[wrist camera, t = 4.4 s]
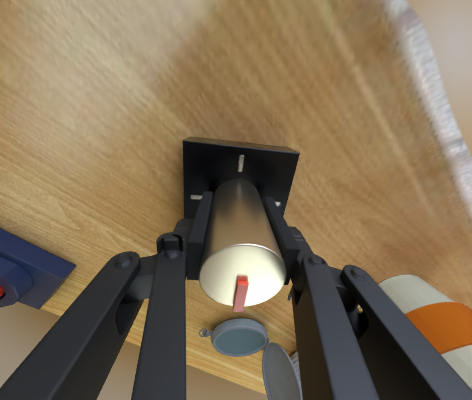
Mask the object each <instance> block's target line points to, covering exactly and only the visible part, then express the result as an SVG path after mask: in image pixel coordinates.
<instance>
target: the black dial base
mask: <svg viewBox="0 0 472 400" xmlns="http://www.w3.org/2000/svg"><path fill="white" fill-rule="evenodd" d="M299 154H300V153H298V152H296V151H294V150H293V149H291V148H288V147H279V146H270V145H261V144H252V143H243V142H234V141H225V140H216V139H207V138H198V137H189V138H187V139H185V140H183V178H184V219H195V216H196V213H197V210H198V207H199V204H200V201H201V198H202V195H203V192H204V191H208V192H213V197H214V194H215V191H216V190H217V188H218V187H219V186H220V185H221V184H222V183H224V182H226V181H228V180H231V179H242V180H246V181H248V182H249V183H251V184H252V185H253V186H254V187H255V188H256V189H257V191H258V194H259V196H260V199H261V202H262V205H263V201H264V197H272V198H273V199H274V201H275V203H276V204H277V206H278V208H279V210H280V212H281V214H282V216H283V215H284V211H285V208H286V204H287V200H288V196H289V192H290V189H291V185H292V181H293V177H294V173H295V170H296V166H297V162H298V158H299ZM212 203H213V198H212Z"/></svg>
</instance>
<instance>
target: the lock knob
mask: <svg viewBox="0 0 472 400" xmlns="http://www.w3.org/2000/svg"><path fill="white" fill-rule="evenodd" d="M286 273H287V272H286V266H285V263H284V261H283V258H282V255H281V253H280V250H279V247H278V245H277V242H276V239H275V237H274V234H273V231H272V229H271V226H270V223H269V221H268V218H267V215H266V213H265V210H264V207H263V205H262V202H261V199H260V196H259V194H258V191H257V189H256V188H255V187H254V186H253V185H252V184H251V183H249V182H248V181H246V180H242V179H231V180H228V181H226V182H224V183H222V184H221V185H220V186H219V187H218V188H217V190H216V191H215V194H214V197H213V203H212V208H211V213H210V218H209V223H208V229H207V234H206V239H205V244H204V249H203V255H202V260H201V265H200V270H199V282H200V285H201V288H202V289H203V291H204V292H205V293H206V294H207V295H208V296H209V297H210V298H212V299H213V300H215V301H217V302H219V303H222V304H225V305H229V306H233V312H243V310H244V306H251V305H256V304H259V303H262V302H264V301H267V300H268V299H270V298H272V297H273V296H274V295H276V294H277V293H278V292H279V291H280V289H281V288H282V287H283V285H284V283H285V280H286Z"/></svg>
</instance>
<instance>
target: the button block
mask: <svg viewBox="0 0 472 400" xmlns="http://www.w3.org/2000/svg"><path fill="white" fill-rule="evenodd" d="M75 267H76V265H74V264H72V263H70V262H68V261H66V260H64V259H62V258H60V257H58V256H55V255H53V254H51V253H49V252H47V251H45V250H43V249H41V248H39V247H37V246H35V245H33V244H31V243H29V242H27V241H25V240H23V239H21V238H19V237H17V236H14V235H12V234H10V233H8V232H6V231H4V230H2V229H0V286H1V287H3V289H4V291H5V293H4V294H3V295H2V296H1V297H0V307H4V306H9V305H12V304H14V303H16V302H17V301H18V302H21V303H23V304H26V305H28V306H31V307H34V308H36V309H40V308H41V307H42V306H43V305H44V304H45V303H46V302H47V301H48V300H49V299H50V298H51V297H52V296H53V295H54V294H55V292H56V291H57V290H58V288H59V287H60V286H61V285H62V283H63V282H64V281H65V280H66V278H67V277H68V276H69V275H70V273H71V272H72V271H73V270H74V268H75Z"/></svg>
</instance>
